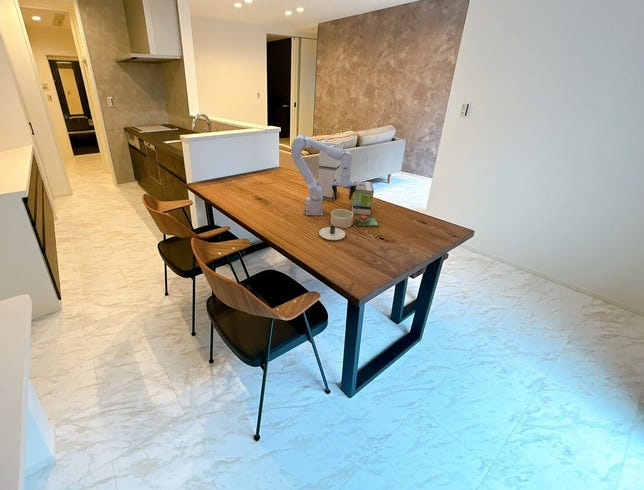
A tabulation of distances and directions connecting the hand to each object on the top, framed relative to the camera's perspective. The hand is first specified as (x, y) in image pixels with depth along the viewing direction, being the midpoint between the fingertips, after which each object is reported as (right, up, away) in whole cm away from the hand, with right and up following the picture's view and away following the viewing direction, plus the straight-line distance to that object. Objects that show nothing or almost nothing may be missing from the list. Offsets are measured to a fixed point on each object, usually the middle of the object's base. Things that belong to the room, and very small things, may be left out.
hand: (342, 199), depth 160 cm
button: (+9, -11, -7) cm, 16 cm away
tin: (-2, -13, -5) cm, 14 cm away
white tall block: (-2, +3, +29) cm, 29 cm away
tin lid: (-9, -18, -17) cm, 26 cm away
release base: (+11, -13, -6) cm, 18 cm away
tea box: (+13, -6, +10) cm, 17 cm away
